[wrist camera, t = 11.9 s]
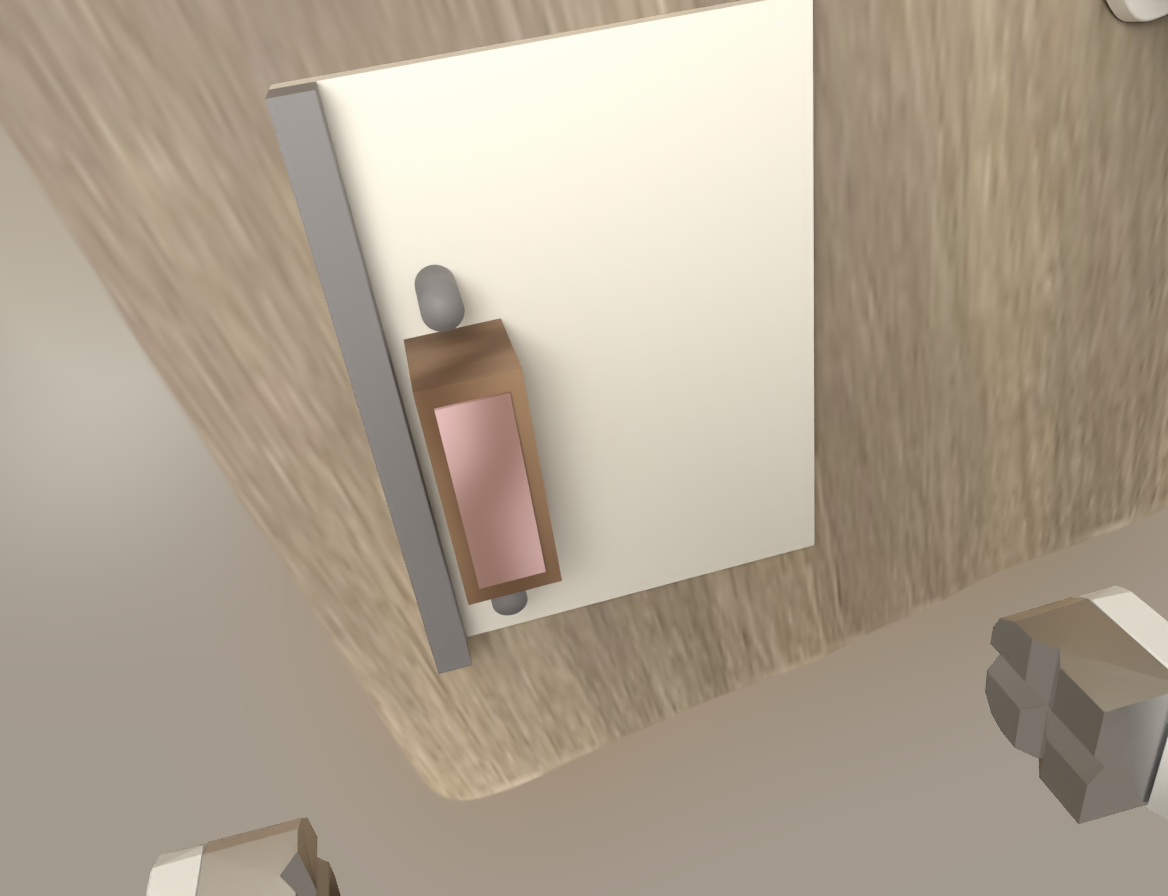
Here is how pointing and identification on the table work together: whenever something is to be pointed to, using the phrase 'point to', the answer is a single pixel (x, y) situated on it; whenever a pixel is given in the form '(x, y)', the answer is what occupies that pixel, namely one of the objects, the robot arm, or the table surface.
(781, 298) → the board
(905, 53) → the table surface
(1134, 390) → the table surface
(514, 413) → the wooden block
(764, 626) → the table surface
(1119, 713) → the robot arm
